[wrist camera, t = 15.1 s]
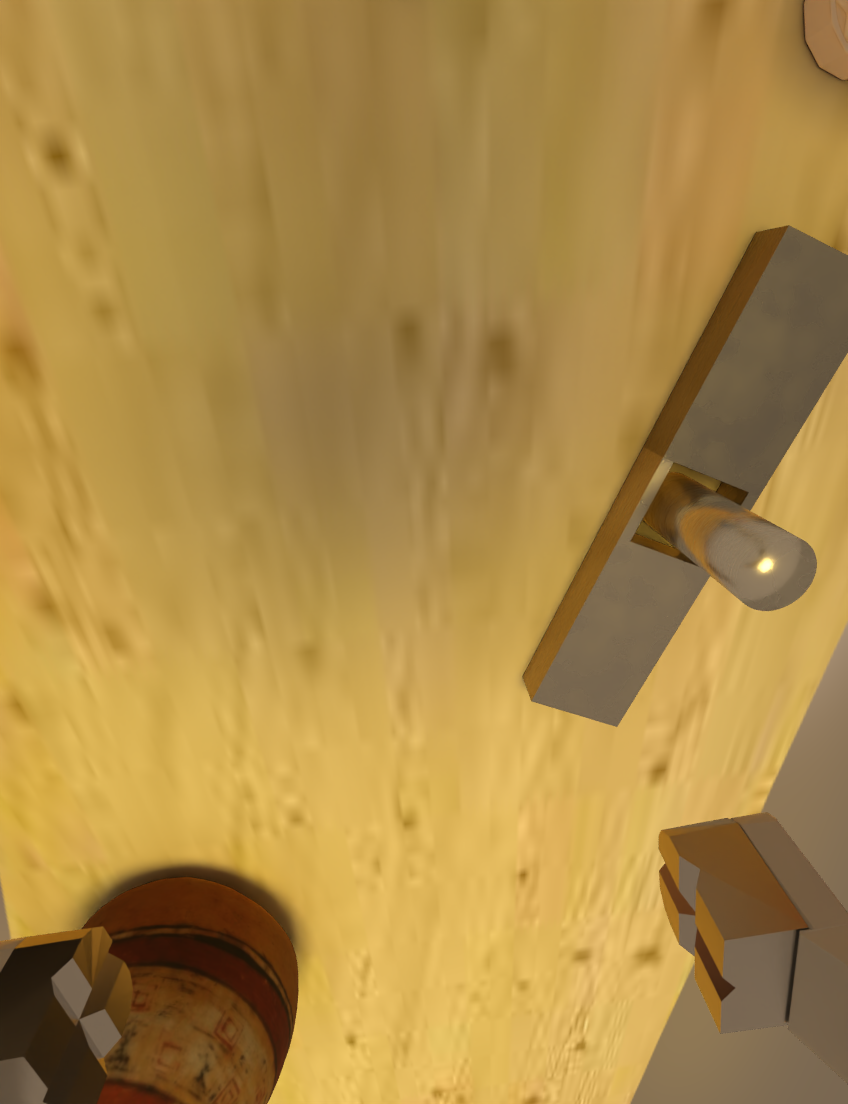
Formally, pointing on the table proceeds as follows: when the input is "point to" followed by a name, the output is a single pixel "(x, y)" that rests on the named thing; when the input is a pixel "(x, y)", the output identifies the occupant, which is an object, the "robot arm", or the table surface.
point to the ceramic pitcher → (199, 995)
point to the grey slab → (698, 468)
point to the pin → (732, 543)
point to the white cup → (828, 34)
